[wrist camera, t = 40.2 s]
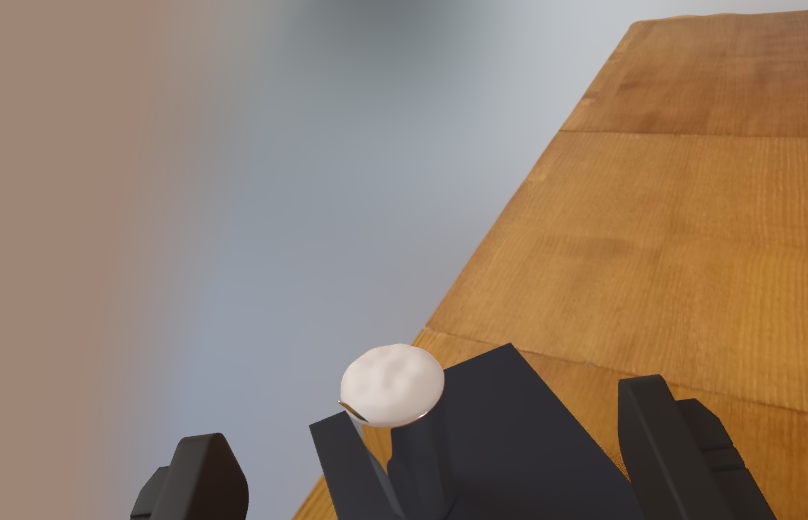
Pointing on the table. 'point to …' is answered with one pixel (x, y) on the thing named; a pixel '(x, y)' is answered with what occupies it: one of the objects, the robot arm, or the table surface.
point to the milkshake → (403, 427)
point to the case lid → (492, 453)
